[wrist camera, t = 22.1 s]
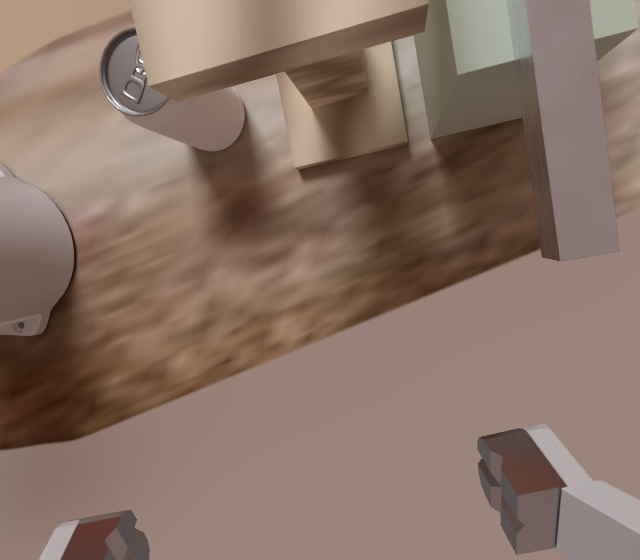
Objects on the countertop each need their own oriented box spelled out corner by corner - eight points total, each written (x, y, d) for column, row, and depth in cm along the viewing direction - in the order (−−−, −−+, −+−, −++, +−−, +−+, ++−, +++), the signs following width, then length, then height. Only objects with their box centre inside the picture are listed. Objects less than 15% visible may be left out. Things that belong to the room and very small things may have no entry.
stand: (298, 169, 39) (148, 85, 15) (267, 12, 37) (50, -347, 14) (407, 144, 37) (428, 3, 13) (379, -23, 35) (346, -511, 12)
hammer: (493, 265, 21) (509, 271, 19) (423, -202, 19) (428, -278, 16) (646, 239, 20) (689, 242, 17) (589, -266, 18) (626, -361, 15)
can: (258, 101, 38) (198, 48, 27) (226, 165, 40) (156, 140, 28) (200, 68, 39) (116, 1, 27) (171, 131, 40) (79, 93, 29)
